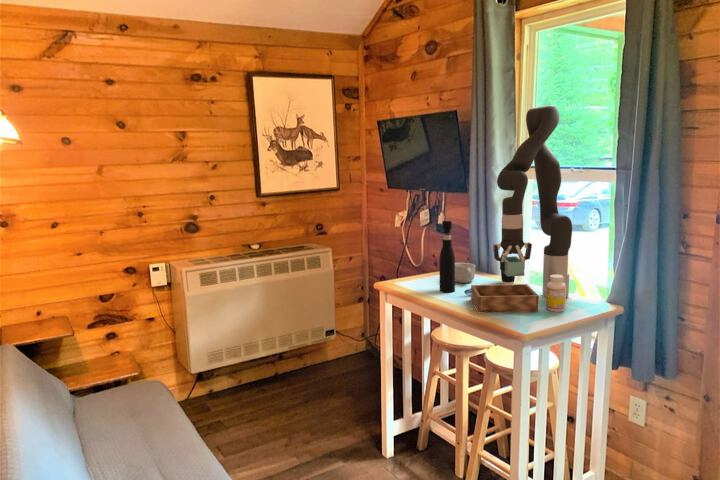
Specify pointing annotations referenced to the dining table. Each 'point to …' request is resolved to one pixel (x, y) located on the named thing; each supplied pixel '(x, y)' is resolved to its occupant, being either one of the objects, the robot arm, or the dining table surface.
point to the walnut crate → (504, 298)
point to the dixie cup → (507, 278)
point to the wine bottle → (447, 261)
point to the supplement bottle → (556, 294)
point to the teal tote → (514, 266)
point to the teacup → (464, 272)
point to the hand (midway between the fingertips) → (512, 271)
